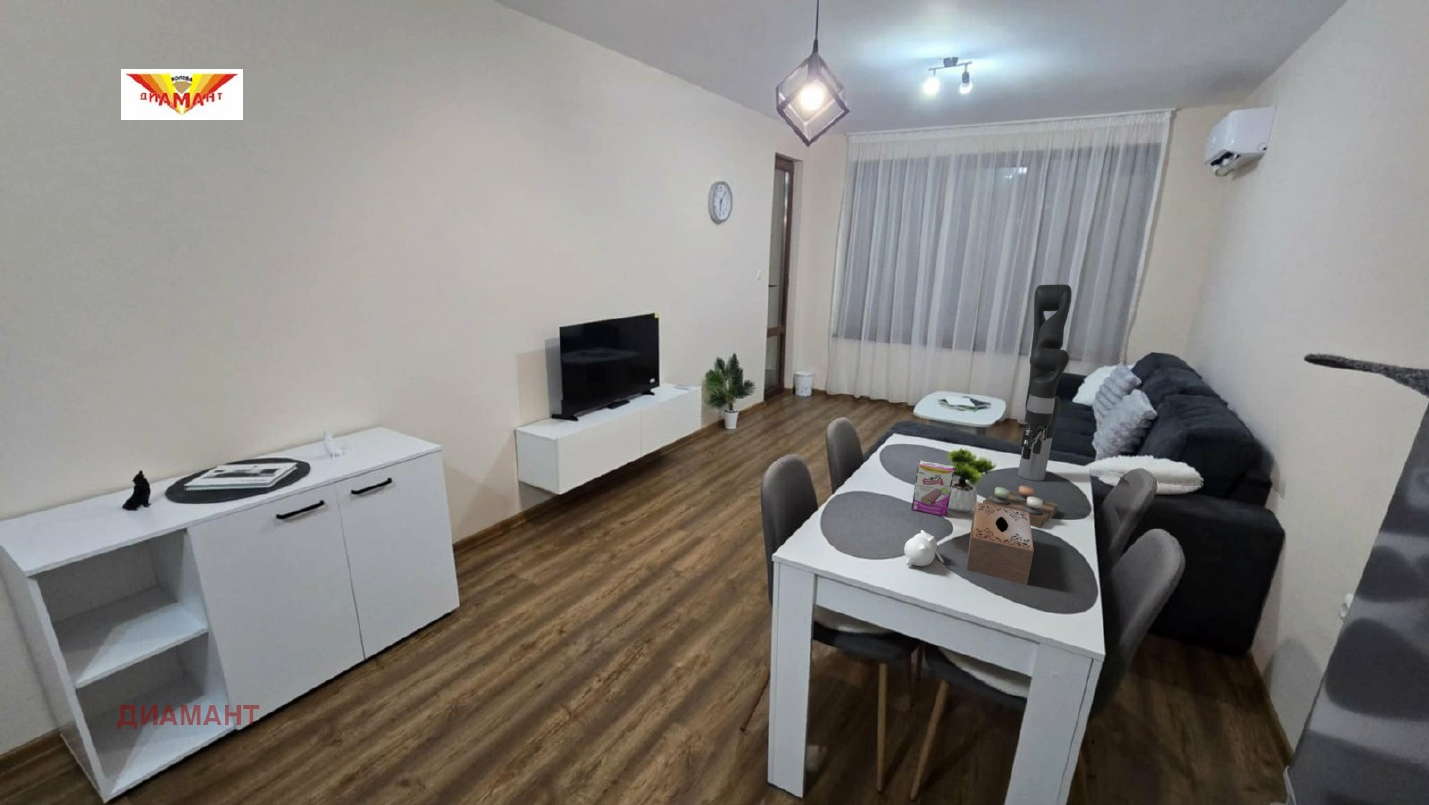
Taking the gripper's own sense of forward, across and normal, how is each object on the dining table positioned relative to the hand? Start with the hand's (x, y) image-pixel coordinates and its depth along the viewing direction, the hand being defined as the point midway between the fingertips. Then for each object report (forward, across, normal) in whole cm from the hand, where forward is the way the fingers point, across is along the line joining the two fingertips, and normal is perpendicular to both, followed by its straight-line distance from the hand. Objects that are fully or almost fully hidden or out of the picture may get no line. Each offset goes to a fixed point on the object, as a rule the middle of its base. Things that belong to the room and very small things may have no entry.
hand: (1031, 456), depth 186 cm
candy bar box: (+19, +29, -18) cm, 39 cm away
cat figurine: (+19, +61, -2) cm, 63 cm away
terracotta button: (+13, 0, 0) cm, 14 cm away
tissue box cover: (+19, +40, +9) cm, 45 cm away
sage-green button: (+14, +8, -4) cm, 16 cm away
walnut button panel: (+19, +4, +1) cm, 19 cm away
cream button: (+13, +7, +6) cm, 16 cm away
